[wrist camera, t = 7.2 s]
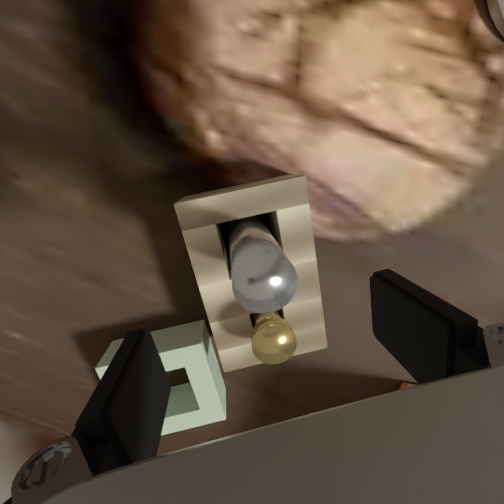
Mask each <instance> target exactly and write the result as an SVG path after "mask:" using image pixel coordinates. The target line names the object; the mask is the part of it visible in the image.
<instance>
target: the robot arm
mask: <svg viewBox="0 0 504 504" xmlns="http://www.w3.org/2000/svg"><path fill="white" fill-rule="evenodd" d="M487 4H488V8H489V12H490V15H491V17H492V20H493V22H494V24H495V26H496V28H497V29H498V30H499V32H500V33H501V34H502V36H503V37H504V0H487ZM370 293H371V309H372V326H373V333H374V335H375V337H376V338H377V339H378V341H379V342H380V343H381V344H382V345H383V346H384V347H385V348H386V349H387V350H388V351H389V352H390V353H391V354H392V355H393V356H394V358H395V359H396V360H397V361H398V362H399V363H400V364H401V365H402V366H403V367H404V368H405V369H406V370H407V371H408V372H409V373H410V375H411V376H412V377H413V378H414V379H415V380H416V381H417V382H418V383H419V384H420V385H416V386H413V387H409V388H405V389H401V390H397V391H394V392H390V393H386V394H382V395H378V396H375V397H371V398H367V399H363V400H360V401H356V402H352V403H348V404H345V405H341V406H337V407H333V408H330V409H326V410H322V411H319V412H315V413H311V414H307V415H304V416H300V417H296V418H293V419H289V420H285V421H282V422H278V423H274V424H271V425H267V426H263V427H260V428H256V429H252V430H249V431H245V432H241V433H238V434H234V435H231V436H227V437H223V438H220V439H216V440H213V441H209V442H205V443H202V444H198V445H195V446H191V447H187V448H184V449H180V450H177V451H173V452H170V453H166V454H163V455H159V456H156V455H157V451H158V446H159V442H160V437H161V433H162V428H163V424H164V419H165V415H166V410H167V406H168V401H169V396H170V392H171V385H170V381H169V378H168V376H167V373H166V371H165V368H164V366H163V363H162V360H161V358H160V355H159V353H158V350H157V348H156V345H155V343H154V340H153V337H152V335H151V333H150V331H145V330H144V329H139V330H135V331H131V332H128V333H127V334H126V336H125V338H124V340H123V341H122V343H121V345H120V347H119V348H118V350H117V352H116V354H115V355H114V357H113V359H112V361H111V362H110V364H109V366H108V368H107V369H106V371H105V373H104V375H103V376H102V378H101V380H100V382H99V383H98V385H97V387H96V389H95V390H94V392H93V394H92V396H91V398H90V399H89V401H88V403H87V405H86V406H85V408H84V410H83V412H82V413H81V415H80V417H79V419H78V420H77V422H76V424H75V426H76V428H75V429H74V431H73V433H72V435H71V436H65V437H60V438H58V439H55V440H53V441H51V442H49V443H48V444H46V445H45V446H43V447H42V448H40V449H39V450H38V451H37V452H35V453H34V454H33V455H32V456H31V457H30V458H29V459H28V460H27V461H26V462H25V463H24V464H23V466H22V467H21V469H20V470H19V471H18V472H17V474H16V476H15V478H14V480H13V482H12V488H11V495H12V497H11V498H9V499H8V500H7V501H6V502H4V503H3V504H504V323H499V324H492V325H489V326H487V327H486V328H484V329H482V328H481V327H479V326H477V325H478V320H477V319H475V318H474V317H472V316H470V315H468V314H467V313H465V312H463V311H461V310H460V309H458V308H456V307H454V306H453V305H451V304H449V303H447V302H446V301H444V300H442V299H440V298H439V297H437V296H435V295H434V294H432V293H430V292H428V291H427V290H425V289H423V288H421V287H420V286H418V285H416V284H414V283H413V282H411V281H409V280H407V279H406V278H404V277H402V276H400V275H399V274H397V273H395V272H394V271H392V270H390V269H385V270H381V271H377V272H374V273H373V276H371V277H370Z"/></svg>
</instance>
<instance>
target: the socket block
mask: <svg viewBox="0 0 504 504" xmlns="http://www.w3.org/2000/svg"><path fill="white" fill-rule="evenodd" d="M174 208H175V211H176V214H177V217H178V221H179V224H180V227H181V231H182V234H183V237H184V241H185V244H186V247H187V250H188V254H189V257H190V260H191V264H192V267H193V270H194V274H195V277H196V280H197V283H198V287H199V290H200V293H201V297H202V300H203V303H204V307H205V310H206V313H207V316H208V320H209V323H210V326H211V330H212V333H213V336H214V340H215V343H216V346H217V349H218V353H219V356H220V359H221V363H222V366H223V369H224V372H228V371H232V370H236V369H241V368H245V367H249V366H253V365H257V364H261V363H263V362H261V361H259V360H258V359H257V358H256V357H255V356H254V354H253V351H252V345H251V332H252V330H253V328H254V327H255V322H254V317H253V313H255V312H252V311H249V310H247V309H245V308H244V307H242V306H241V305H240V304H239V303H238V301H237V300H236V298H235V296H234V294H233V290H232V278H231V263H230V259H228V255H227V251H226V247H225V243H224V239H223V235H222V231H221V227H220V223H222V222H227V221H231V220H236V219H240V218H245V217H249V216H254V215H258V214H263V213H267V212H268V214H269V220H270V225H271V231H272V236H273V237H274V239H275V240H276V242H277V243H278V245H279V246H280V247H281V249H282V250H283V252H284V253H285V255H286V256H287V258H288V259H289V260H290V262H291V263H292V265H293V266H294V268H295V270H296V272H297V276H298V286H297V290H296V293H295V295H294V297H293V298H292V300H291V301H290V302H289V303H288V304H287V305H286V306H284V307H283V308H281V309H279V310H278V312H279V315H280V318H281V319H284V320H286V321H287V322H288V323H289V324H290V325H291V327H292V329H293V331H294V334H295V336H296V339H297V347H296V350H295V352H294V354H293V355H292V356H295V355H299V354H303V353H307V352H311V351H315V350H319V349H324V348H327V340H326V332H325V324H324V316H323V309H322V301H321V293H320V285H319V277H318V269H317V262H316V254H315V246H314V238H313V230H312V222H311V214H310V207H309V199H308V191H307V183H306V176H305V175H296V174H286V175H282V176H277V177H272V178H268V179H263V180H259V181H254V182H249V183H245V184H240V185H236V186H231V187H226V188H222V189H217V190H213V191H208V192H203V193H199V194H194V195H190V196H185V197H183V198H181V199H180V200H179V201H177V202H176V203H175V204H174Z"/></svg>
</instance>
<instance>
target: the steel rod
mask: <svg viewBox="0 0 504 504" xmlns="http://www.w3.org/2000/svg"><path fill="white" fill-rule="evenodd" d="M229 247H230V263H231V278H232V290H233V294H234V296H235V298H236V300H237V301H238V303H239V304H240V305H241V306H242V307H244V308H245V309H247V310H249V311H252V312H255V313H271V312H274V311H277V310H279V309H281V308H283V307H284V306H286V305H287V304H288V303H289V302H290V301H291V300H292V298H293V297H294V295H295V293H296V290H297V286H298V276H297V272H296V270H295V268H294V266H293V265H292V263H291V262H290V260H289V259H288V258H287V256H286V255H285V253H284V252H283V250H282V249H281V247H280V246H279V245H278V243H277V242H276V240H275V239H274V237H273V236H272V235H271V233H270V232H269V230H268V229H267V227H266V226H265V224H264V223H263V222H262V220H261V219H260V218H259V217H258V216H256V215H254V216H249V217H245V218H240V219H236V220H232V222H231V223H230V226H229Z"/></svg>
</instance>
